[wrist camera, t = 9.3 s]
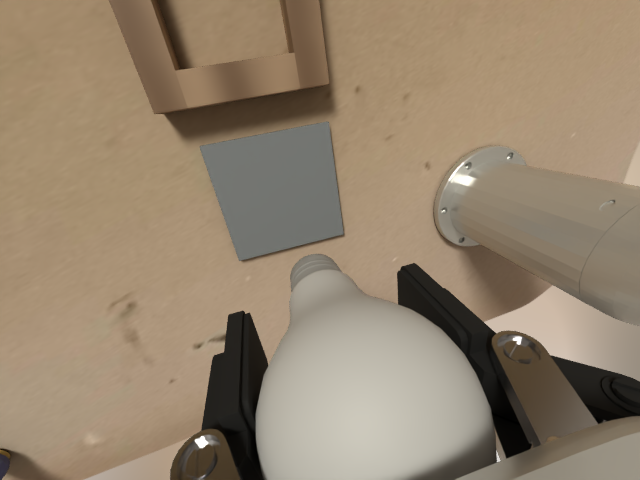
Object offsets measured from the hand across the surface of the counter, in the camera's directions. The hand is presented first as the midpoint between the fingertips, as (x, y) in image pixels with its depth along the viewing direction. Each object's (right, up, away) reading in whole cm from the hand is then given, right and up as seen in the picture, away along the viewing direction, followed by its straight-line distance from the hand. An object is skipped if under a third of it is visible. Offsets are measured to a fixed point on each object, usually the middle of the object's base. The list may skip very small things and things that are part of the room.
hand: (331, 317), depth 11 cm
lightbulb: (-1, +2, +4) cm, 4 cm away
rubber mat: (-5, +8, +17) cm, 19 cm away
